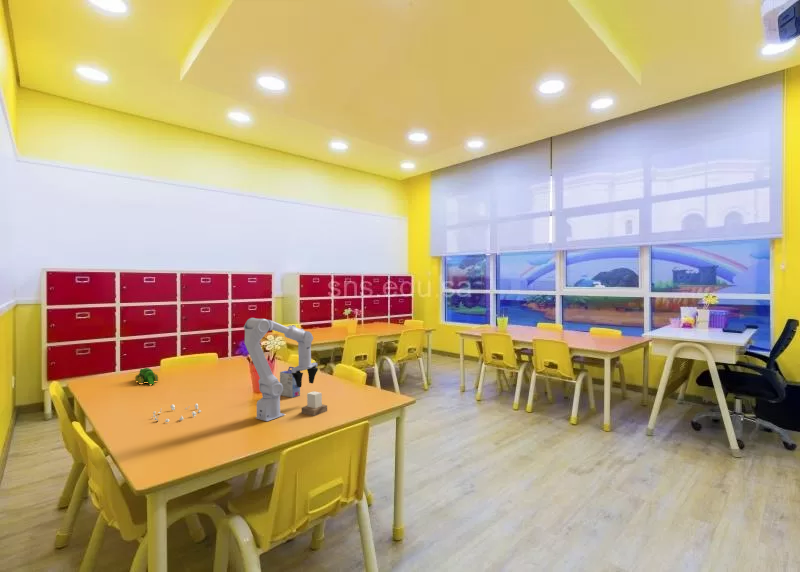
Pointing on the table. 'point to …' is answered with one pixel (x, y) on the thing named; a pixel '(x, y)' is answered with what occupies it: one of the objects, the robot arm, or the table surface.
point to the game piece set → (174, 409)
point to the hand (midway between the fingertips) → (305, 385)
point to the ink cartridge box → (289, 384)
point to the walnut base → (314, 410)
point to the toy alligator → (146, 376)
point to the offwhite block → (314, 399)
